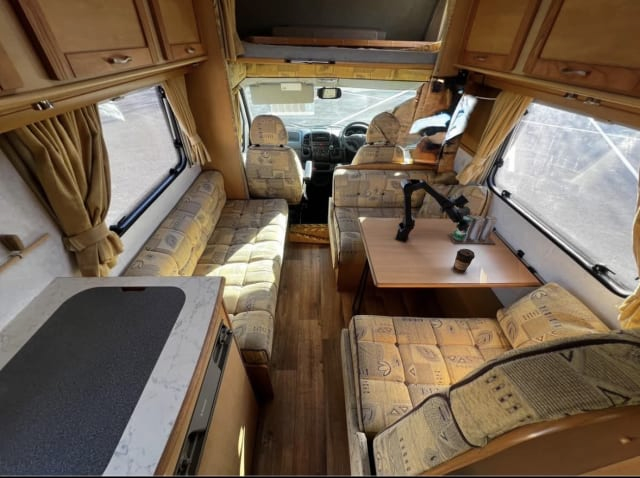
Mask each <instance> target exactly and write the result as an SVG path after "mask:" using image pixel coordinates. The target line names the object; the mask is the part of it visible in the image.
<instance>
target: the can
mask: <svg viewBox="0 0 640 478" xmlns="http://www.w3.org/2000/svg"><path fill="white" fill-rule="evenodd" d="M463 217H464V218H463V219H462V220H463V221H464V220H466V221H467V222H468V223H469V225H471V222H472V220H473V218H472V217H471V216H470V215H467V216H463ZM458 224H459V222H458ZM469 227H470V226H469ZM469 227H468V228H467V230H469ZM467 232H468V231H459V230H458V228H457V227H455V230H454V233H453V234H454V235H453V238H454V239H456V240H459V241H461V240H464V237H465V235H466V234H467Z"/></svg>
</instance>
